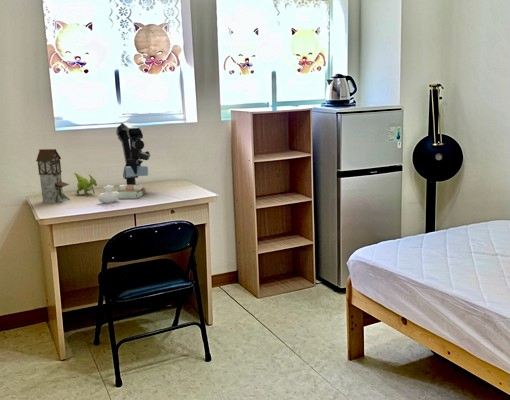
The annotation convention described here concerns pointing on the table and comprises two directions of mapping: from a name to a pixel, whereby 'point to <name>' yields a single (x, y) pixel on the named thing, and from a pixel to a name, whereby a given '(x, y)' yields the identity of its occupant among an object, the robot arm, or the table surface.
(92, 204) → the table surface
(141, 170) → the long blue block
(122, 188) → the tile
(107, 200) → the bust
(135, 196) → the tray
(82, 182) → the toy
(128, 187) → the tile
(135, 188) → the tile
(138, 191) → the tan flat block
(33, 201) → the table surface
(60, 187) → the model building
